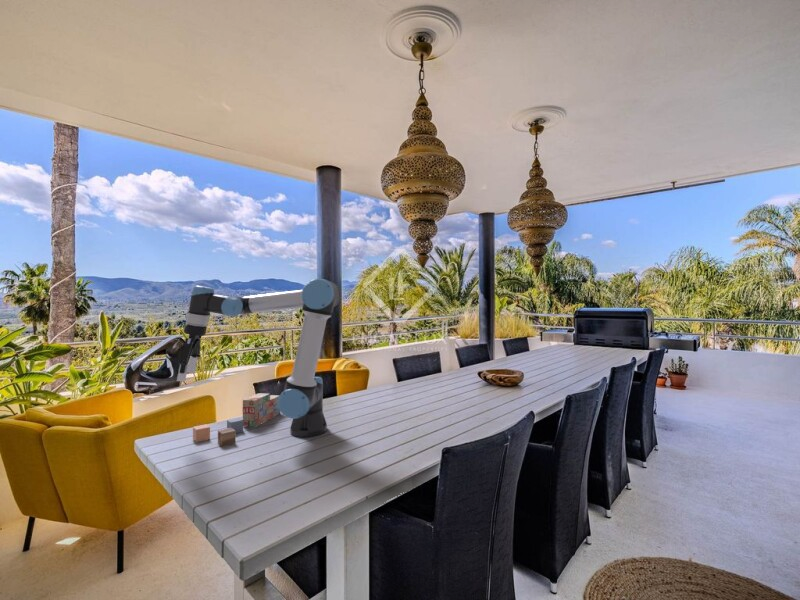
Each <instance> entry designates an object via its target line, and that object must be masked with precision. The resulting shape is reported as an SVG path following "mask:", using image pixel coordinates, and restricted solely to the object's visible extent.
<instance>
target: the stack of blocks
mask: <svg viewBox="0 0 800 600" xmlns="http://www.w3.org/2000/svg"><path fill="white" fill-rule="evenodd" d="M280 395H281V394H280ZM280 395H277V394H276V395H275V394H271V393H261V392H260V393H258V392H257V393H255V394H253V395H251V396H249V397H245V398H244V399H242V420H243V426H247V427H246V428H257V427H258V426H261V425H262V424H264V423H266V422H268V421H269V419H270V418H271V419H273V418H275V417H276V415H277V416H278V414H279V413H280V414H281V411H280V410H279V407H278V399H279V397H280ZM280 414H279V415H280ZM274 416H275V417H274ZM272 417H273V418H272ZM271 419H270V420H271ZM267 420H268V421H267ZM265 421H266V422H265ZM263 422H264V423H263ZM261 423H262V424H261ZM260 424H261V425H260ZM257 425H258V426H257ZM256 426H257V427H256Z"/></svg>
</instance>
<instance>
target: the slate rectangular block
mask: <svg viewBox="0 0 800 600" xmlns="http://www.w3.org/2000/svg"><path fill="white" fill-rule="evenodd" d="M227 428H233V429H234V430H235V431H236V434H238V432H239V433H243V432H244V427H243V418H241V417H235V418H230V419H227V420H226V429H227ZM242 431H243V432H242Z"/></svg>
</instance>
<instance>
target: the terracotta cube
mask: <svg viewBox="0 0 800 600" xmlns="http://www.w3.org/2000/svg"><path fill="white" fill-rule="evenodd" d="M193 439H194V440H195V441H196V442H195V441H194V440H193ZM208 439H209V440H211V426H209V424H207V423H206V424H200V425H196V426H192V440H193V441H194V442H195V443H199V442H198V441H200V442H204V441H209V440H208ZM203 440H204V441H203Z"/></svg>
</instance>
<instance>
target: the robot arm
mask: <svg viewBox="0 0 800 600" xmlns="http://www.w3.org/2000/svg"><path fill="white" fill-rule="evenodd" d="M341 297H342V291H341V289H340V287H339V286H338V285H337V284H336V283H335V282H333V281H331V280H328V279H325V278H314V279H312V280H309V281H307V282H306V283H305V285H304V286H303V288H302V289H298V290H297V289H296V290H289V291H281V292H274V293H266V294H265V293H264V294H257V295H256V294H255V295H246V296H229V295H222V294H216V293H215V289H214V288H213V287H209V286H203V285H194V286H193V288H192V293H191V295H190V301H189V306H188V313H187V314H186V315H185V317H186V324H185V325H184V329H183V333H184V334H185V335H189V336H188V337H186V338H185V341H184V345H183V349H182V351H181V354H180V357H179V360H178V361H177V365H179V367H178V374H177V377H176V382H183V383H185V382H186V379H187V375H188V374H195V373H196V370H197V369H196V367H197V363H198V358H200V357H201V352H200V351H201V342H202V341H201V340H202V337H203V336H205V335H206V333H207V329H208V327H207V326H208V325H209V319H210V313H212V314H213V313H214V314H218V315H222V316H225V317H235V318H236V317H239V315H243V316H244V315H248V314H249V315H250V314H256V313H263V312H264V313H265V312H266V313H267V312H272V311H273V312H274V311H280V310H281V311H283V310H290V309H299V308H301V311H302V313H303V314H304V317H303V323H302V327H301V331H300V335H299V340H298V345H297V349H296V353H295V358H294V362H293V366H292V367H293V368H292V372H291V375H290V376H289V377H287V378H286V381H285V385H284V389H283V391H282V392H281V393H280V397H279V399H278V407H279V410H280V413H281V414H282V415H283V416H285V417H286V418H288V419H292V421H291V424H290V433H289V434H290V435H291V436H293V437H298V438H308V437H311V438H312V437H316V436H319V435H322V434H324V433H326V432H327V430H328V423H327V420H326V418H325V414H324V411H323V410H324V409H323V406H324V404H323V403H324V402H323V401H324V398H323V397H324V391H323V390H324V384H323V383H324V382H323V378H322V377H321V376H315V375H316V371H317V366H318V361H319V357H320V352H321V348H322V343H323V339H324V334H325V330H326V326H327V325H326V324H327V321H328V319H330V318H331V317H332V315H333V311H334V307H336V306H337V305H338V304H339V303H340V300H341Z"/></svg>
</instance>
